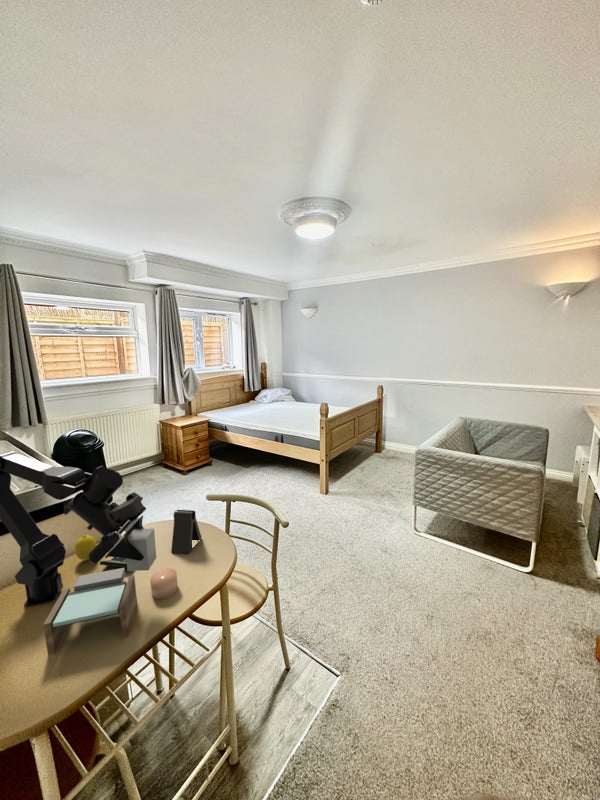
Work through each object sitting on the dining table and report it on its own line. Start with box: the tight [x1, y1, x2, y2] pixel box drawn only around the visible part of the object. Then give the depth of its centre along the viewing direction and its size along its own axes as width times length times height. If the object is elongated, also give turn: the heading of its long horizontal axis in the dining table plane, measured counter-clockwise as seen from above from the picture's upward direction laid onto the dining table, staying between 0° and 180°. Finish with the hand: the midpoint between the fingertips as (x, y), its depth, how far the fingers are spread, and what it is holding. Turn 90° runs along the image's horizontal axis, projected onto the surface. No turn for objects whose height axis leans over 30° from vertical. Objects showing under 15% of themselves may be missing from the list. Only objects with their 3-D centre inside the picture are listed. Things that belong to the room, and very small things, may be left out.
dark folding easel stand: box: [170, 509, 203, 555], centre depth 108 cm, size 9×6×12 cm, turn 171°
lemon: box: [74, 534, 98, 561], centre depth 102 cm, size 6×6×8 cm
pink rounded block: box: [149, 567, 179, 600], centre depth 88 cm, size 6×6×4 cm
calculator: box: [99, 557, 127, 568], centre depth 102 cm, size 9×12×3 cm
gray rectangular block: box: [126, 527, 157, 572], centre depth 83 cm, size 5×5×8 cm
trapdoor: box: [53, 567, 127, 627], centre depth 77 cm, size 12×14×2 cm
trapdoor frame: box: [43, 574, 138, 656], centre depth 77 cm, size 15×11×7 cm
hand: (147, 552), depth 83 cm, fingers closed on gray rectangular block, 5 cm apart
